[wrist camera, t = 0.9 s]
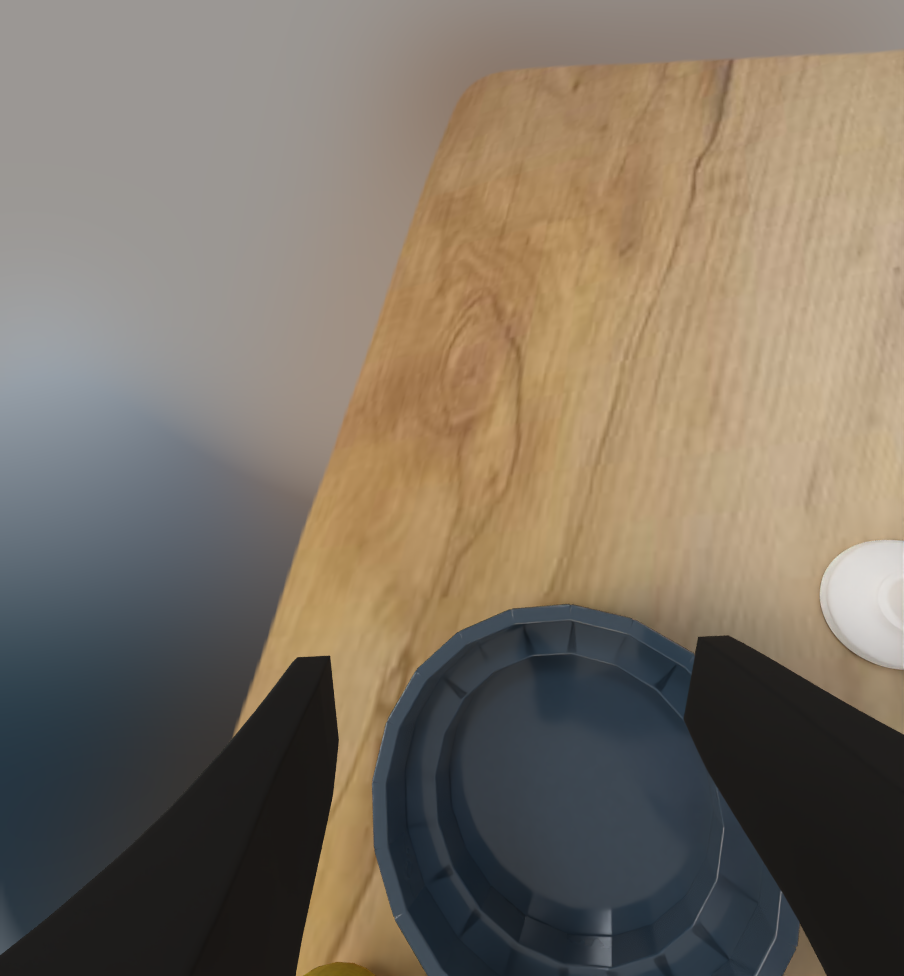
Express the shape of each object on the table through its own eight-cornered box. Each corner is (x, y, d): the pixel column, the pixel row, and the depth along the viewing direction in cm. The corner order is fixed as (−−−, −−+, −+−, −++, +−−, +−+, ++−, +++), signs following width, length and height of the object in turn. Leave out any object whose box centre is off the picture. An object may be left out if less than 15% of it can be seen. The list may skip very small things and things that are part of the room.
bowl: (784, 655, 21) (828, 664, 17) (735, 1058, 19) (772, 1188, 15) (454, 577, 26) (422, 568, 22) (380, 894, 23) (329, 956, 19)
